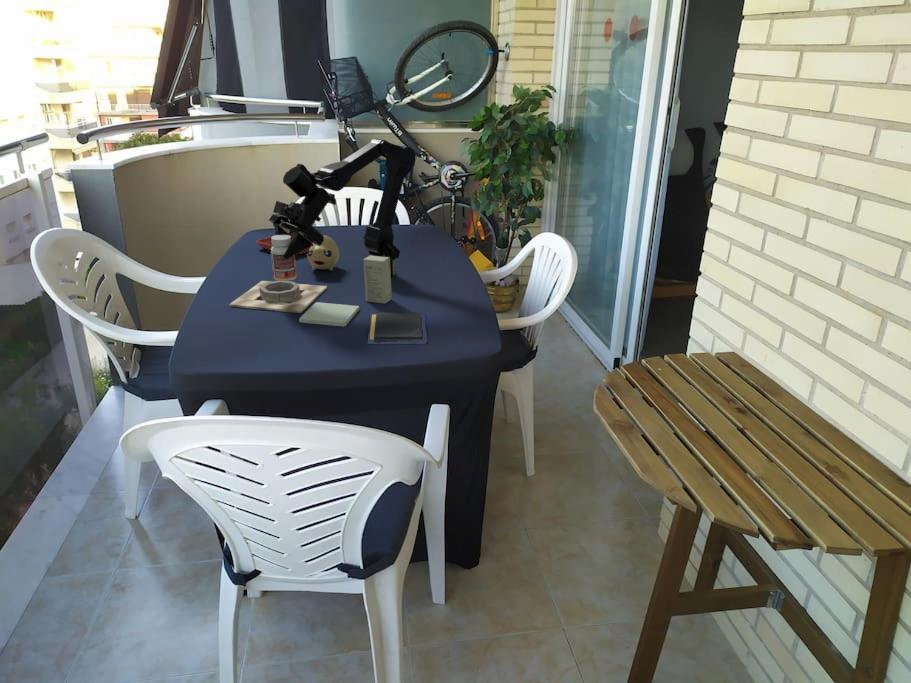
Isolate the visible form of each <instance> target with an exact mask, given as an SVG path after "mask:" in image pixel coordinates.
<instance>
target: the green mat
mask: <svg viewBox="0 0 911 683" xmlns="http://www.w3.org/2000/svg"><path fill="white" fill-rule="evenodd" d="M358 311H360V306H359V305H352V304H351V305H350V304H339V303H329V302H328V303H327V302H320V301H319V302H315V303H314V304H312V306H311V307H310V308H308V309H307V310H306V311H305V312H304V313H303V314H302V315H301V317H299V320H298V322H299V323H303V324H312V325H313V324H314V325H325V326H335V327H344V326H345V327H346V326H347V325H348V324H349V323H350V321H351V320H352V319H353V318H354V316H356V314H357V313H358Z"/></svg>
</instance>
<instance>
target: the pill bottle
mask: <svg viewBox="0 0 911 683" xmlns="http://www.w3.org/2000/svg"><path fill="white" fill-rule="evenodd" d="M270 237H271V241H272V242H271V243H272V245H274V246H272V248H271V251H270V258H271V267H272V268H271V270H272V277H273V279H274V281H293V280H295V279H297V263H296V256H295V255H293V256H292V257H290V258H288V259H285V258H284V254H285V252H286V250H287V249H288V247H289V245H290V243H291V242H292V239H291V236H289V235H275V234H274V235H272V236H270Z"/></svg>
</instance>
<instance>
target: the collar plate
mask: <svg viewBox="0 0 911 683" xmlns="http://www.w3.org/2000/svg"><path fill="white" fill-rule="evenodd" d="M327 289H328V286H327V285H316V284H306V283H305V284H304V283H296V282H295V281H293V280H290V281H277V280H274V281H269V280H260V281H259V282H258V283H257V284H255V285H253V287H251V288H250V289H249V290H247V291H246V292H244V293H243V294H241V295H240V296H239V297H238V298H236V299H235V300H233V301H232V302H231V303H229V305H228V306H229V308H231V307H232V308H240V309H241V308H243V309H253V310H261V311H262V310H264V311H273V310H274V311H275V312H285V313H294V314H295V313H298V314H302V313H303V312H304V311H305V310H306V309H307V308H308V307H309V306H310V305H311V304H312V303H313V302H315V300H316V299H318V298H319V297H320V295H321V294H323V293H324V292H325V291H326V290H327ZM260 299H261V300H260Z"/></svg>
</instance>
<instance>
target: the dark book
mask: <svg viewBox="0 0 911 683" xmlns="http://www.w3.org/2000/svg"><path fill="white" fill-rule="evenodd" d="M421 314H424V313H422V312H421V311H420V312H418V311H416V312H415V311H411V312H406V311H404V312H402V311H401V312H399V311H398V312H395V311H394V312H391V311H390V312H385V311H384V312H383V311H382V312H381V311H380V312H379V311H377V312H376V313H369V320H368V328H369V330H367V335H368V334H369V332H370V338H369V340H374V342H377V343H381V342H397V341H413V340H423V330H422V317H421Z"/></svg>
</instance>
